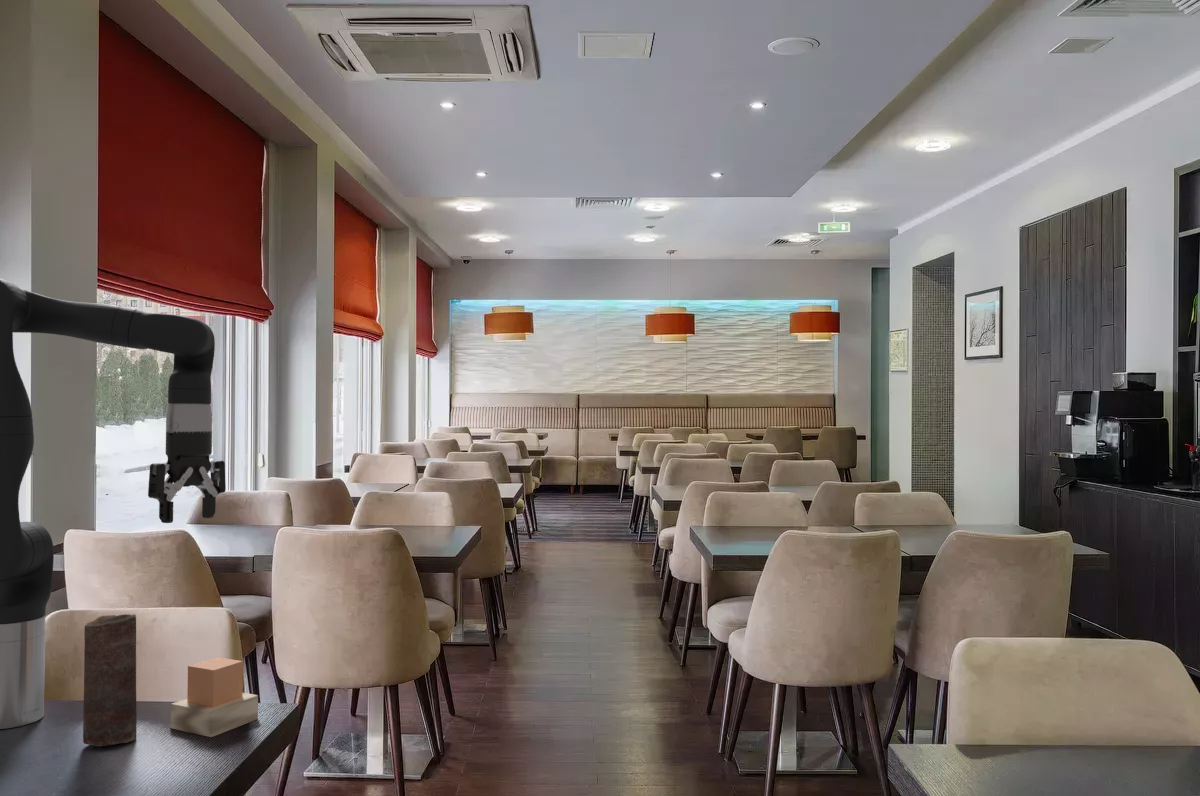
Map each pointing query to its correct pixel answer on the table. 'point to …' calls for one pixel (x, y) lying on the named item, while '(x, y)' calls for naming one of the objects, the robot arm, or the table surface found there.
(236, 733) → the table surface
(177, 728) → the oak plinth
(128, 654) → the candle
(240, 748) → the table surface
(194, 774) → the table surface
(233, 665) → the terracotta cube
